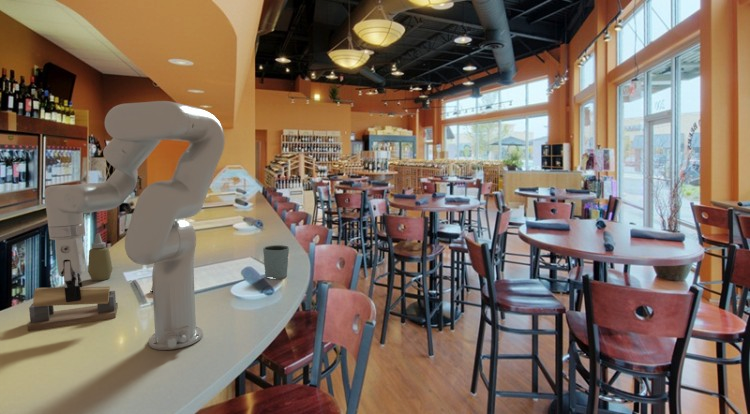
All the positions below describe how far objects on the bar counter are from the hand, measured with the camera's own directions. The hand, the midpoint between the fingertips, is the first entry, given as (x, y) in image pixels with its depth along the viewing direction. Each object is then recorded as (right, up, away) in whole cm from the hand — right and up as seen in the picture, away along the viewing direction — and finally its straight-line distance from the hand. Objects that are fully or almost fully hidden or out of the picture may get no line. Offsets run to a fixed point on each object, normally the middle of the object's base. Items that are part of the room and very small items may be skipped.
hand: (74, 298), depth 108 cm
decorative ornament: (+5, -6, +34) cm, 35 cm away
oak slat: (0, -1, 0) cm, 1 cm away
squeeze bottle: (-27, -4, +50) cm, 57 cm away
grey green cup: (+41, -4, +55) cm, 69 cm away
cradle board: (-7, -8, +10) cm, 15 cm away
